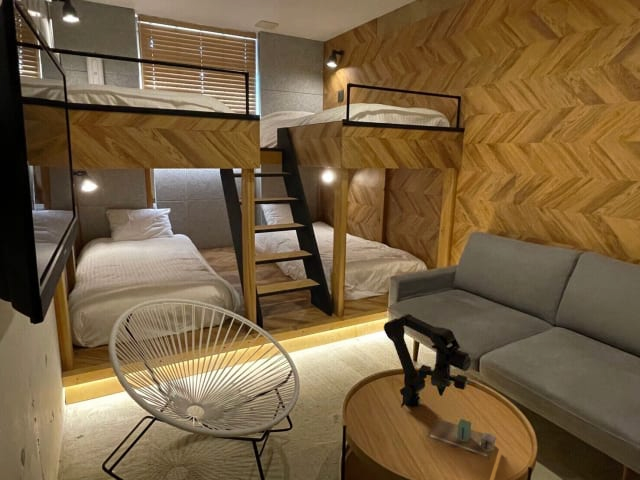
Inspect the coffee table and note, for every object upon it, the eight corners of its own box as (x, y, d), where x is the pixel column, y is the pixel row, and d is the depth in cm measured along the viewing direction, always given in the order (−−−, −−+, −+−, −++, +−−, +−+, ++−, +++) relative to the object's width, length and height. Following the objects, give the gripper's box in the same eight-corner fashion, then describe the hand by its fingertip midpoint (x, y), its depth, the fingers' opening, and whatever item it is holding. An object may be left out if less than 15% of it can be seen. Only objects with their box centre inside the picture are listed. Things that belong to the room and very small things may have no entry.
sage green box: (456, 438, 165) (457, 425, 164) (459, 432, 169) (460, 418, 167) (467, 442, 163) (468, 428, 162) (470, 435, 167) (471, 422, 165)
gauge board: (426, 439, 168) (427, 428, 166) (436, 420, 178) (437, 409, 177) (490, 462, 156) (491, 450, 154) (497, 440, 166) (498, 429, 165)
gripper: (413, 363, 170) (412, 398, 173) (461, 377, 160) (459, 413, 164) (422, 351, 179) (421, 384, 183) (469, 363, 169) (466, 398, 173)
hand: (441, 395), depth 175 cm, fingers closed
